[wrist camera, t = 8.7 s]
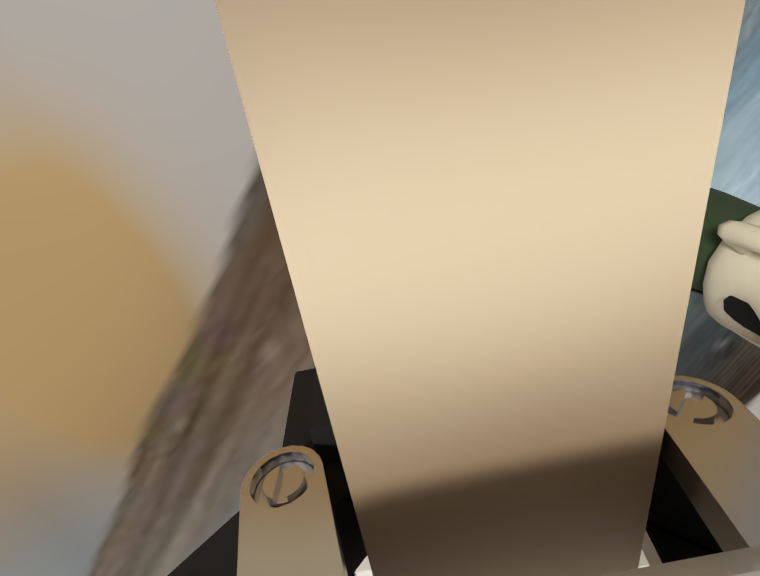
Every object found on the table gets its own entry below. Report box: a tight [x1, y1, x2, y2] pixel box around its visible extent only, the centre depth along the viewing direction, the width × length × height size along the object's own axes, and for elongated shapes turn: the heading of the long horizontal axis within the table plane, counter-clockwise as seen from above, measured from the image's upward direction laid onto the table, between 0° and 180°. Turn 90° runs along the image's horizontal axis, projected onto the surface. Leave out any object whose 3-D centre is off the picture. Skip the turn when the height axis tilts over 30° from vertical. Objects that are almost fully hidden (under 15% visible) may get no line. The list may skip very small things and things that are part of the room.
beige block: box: [215, 0, 745, 576], centre depth 8 cm, size 14×4×6 cm, turn 9°
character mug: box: [691, 188, 760, 347], centre depth 21 cm, size 11×7×13 cm, turn 61°
